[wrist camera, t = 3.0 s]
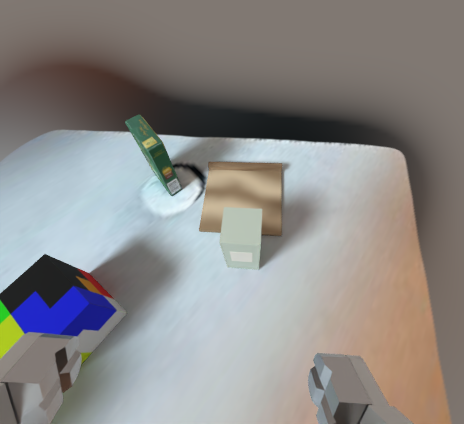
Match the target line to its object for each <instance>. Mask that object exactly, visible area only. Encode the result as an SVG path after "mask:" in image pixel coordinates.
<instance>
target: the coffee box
mask: <svg viewBox="0 0 464 424" xmlns="http://www.w3.org/2000/svg"><path fill="white" fill-rule="evenodd" d="M125 123H126V125H127V126H128V128H129V130H130V132H131V133H132V135H133V137H134V139H135V140H136V142H137V144H138V145H139V147H140V149H141V151H142V153H143V154H144V156H145V158H146V160H147V161H148V163H149V165H150V166H151V168H152V170H153V172H154V173H155V174H156V176H157V177H158V179H159V180H160V181H161V183H162V184H163V186H164V187H165V188H166V190H167V191H168V192H169V194H170V195H171V196H173V195H174V194H176V193H177V192H179V191H180V190H182V187H181V184H180V182H179V180H178V177H177V175H176V173H175V170H174V168H173V166H172V163H171V161H170V158H169V156H168V154H167V151H166V149H165V147H164V144H163V142H162V141H161V139H160V138H159V137H158V136H157V134H156V133H155V132H154V131H153V130H152V128H151V127H150V126H149V125H148V124H147V122H146V121H145V120H144V118H143V117H142V116H141V115H140V114H139V115H137V116H135V117H133V118H131V119H129V120H127V121H126V122H125Z"/></svg>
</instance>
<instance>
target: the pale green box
mask: <svg viewBox="0 0 464 424" xmlns="http://www.w3.org/2000/svg"><path fill="white" fill-rule="evenodd" d="M261 227H262V209H255V208H233V207H224V210H223V219H222V227H221V235H220V246H221V249H222V252H223V255H224V258H225V261H226V264H227V267H228V268H240V269H254V270H259V261H260V249H261Z"/></svg>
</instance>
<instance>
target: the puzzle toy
mask: <svg viewBox="0 0 464 424" xmlns="http://www.w3.org/2000/svg"><path fill="white" fill-rule="evenodd" d="M126 314H127V312H126V311H125V310H124V309H123V308H122V307H121V306H120V305H119V304H118V303H117V302H116V301H115V300H114V298H113V297H112V296H111V295H110V294H109V293H108V292H107V291H106V290H105V289H104V288H103V287H102V286H101V285H100V284H99V283H98V282H97V281H96V280H95V279H94V278H93V277H92V276H91V275H90V274H89V273H87V272H85V271H83V270H80V269H78V268H76V267H73V266H71V265H69V264H66V263H64V262H62V261H60V260H57V259H55V258H53V257H50V256H48V255H46V254H44V255H43V256H42V257H41V258H40V259H39V260H38V261H37V262H35V263H34V264H33V265H32V266H31V267H30V268H29V269H28V270H26V271H25V272H24V273H23V274H22V275H21V276H20V277H19V278H17V279H16V280H15V281H14V282H13V283H12V284H11V285H10V286H8V287H7V288H6V289H5V290H4V291H3V292H2V293H1V294H0V359H1V358H2V357H3V356H4V355H5V354H6V352H7V351H8V350H9V349H10V348H11V347H12V346H13V345H14V344H15V343H16V342H17V341H18V340H19V339H20V338H21V336H23V335H24V334H26V333H28V332H36V333H48V334H58V335H68V336H77V337H78V339H79V343H80V344H79V346H78V347H77V350H78V351H79V352H80V353H81V358H82V361H81V364H82V363H83V362H84V361H85V360H86V359H87V358H88V357H89V355H90V354H91V353H92V352H93V351H94V350H95V349H96V348H97V346H98V345H99V344H100V343H101V342H102V341H103V340H104V339H105V338H106V336H107V335H108V334H109V333H110V332H111V331H112V330H113V329H114V327H115V326H116V325H117V324H118V323H119V322H120V321H121V320H122V318H123V317H124V316H125V315H126Z"/></svg>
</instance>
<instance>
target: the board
mask: <svg viewBox="0 0 464 424" xmlns="http://www.w3.org/2000/svg"><path fill="white" fill-rule="evenodd" d="M208 167H209V174H208V180H207V186H206V192H205V198H204V204H203V210H202V216H201V222H200V228H199V231H200V232H218V233H221V227H222V219H223V210H224V207H233V208H255V209H262V227H261V235H272V236H281V235H282V223H281V171H282V163H242V162H209V164H208Z"/></svg>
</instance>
